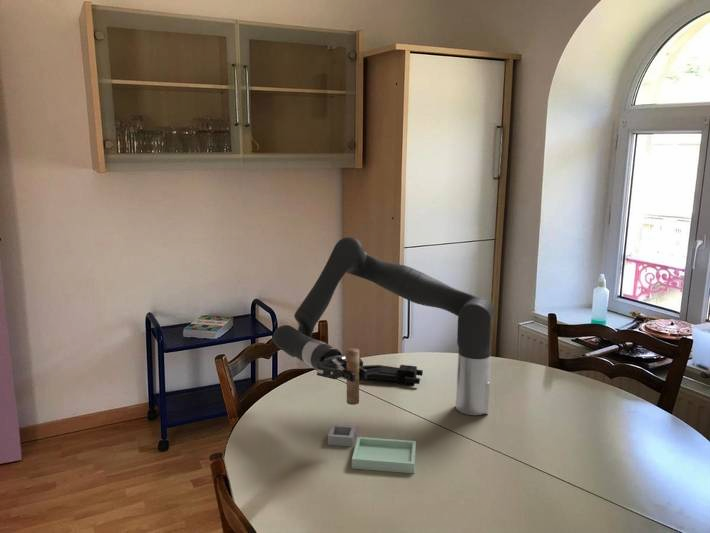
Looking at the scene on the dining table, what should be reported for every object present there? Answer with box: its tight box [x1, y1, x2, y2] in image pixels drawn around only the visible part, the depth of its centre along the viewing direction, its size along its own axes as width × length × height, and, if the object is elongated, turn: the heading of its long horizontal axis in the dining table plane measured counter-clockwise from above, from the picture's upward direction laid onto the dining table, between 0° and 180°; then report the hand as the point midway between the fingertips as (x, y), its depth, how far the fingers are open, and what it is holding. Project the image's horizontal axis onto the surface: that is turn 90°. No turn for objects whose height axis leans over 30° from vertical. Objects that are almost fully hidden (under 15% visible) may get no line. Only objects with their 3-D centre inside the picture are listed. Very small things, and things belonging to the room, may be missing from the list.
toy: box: [331, 364, 424, 387], centre depth 197 cm, size 9×6×30 cm
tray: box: [351, 436, 417, 474], centre depth 148 cm, size 15×11×2 cm
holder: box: [327, 424, 357, 447], centre depth 157 cm, size 6×6×2 cm
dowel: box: [346, 347, 360, 406], centre depth 151 cm, size 3×3×14 cm
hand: (359, 376), depth 149 cm, fingers closed on dowel, 3 cm apart
